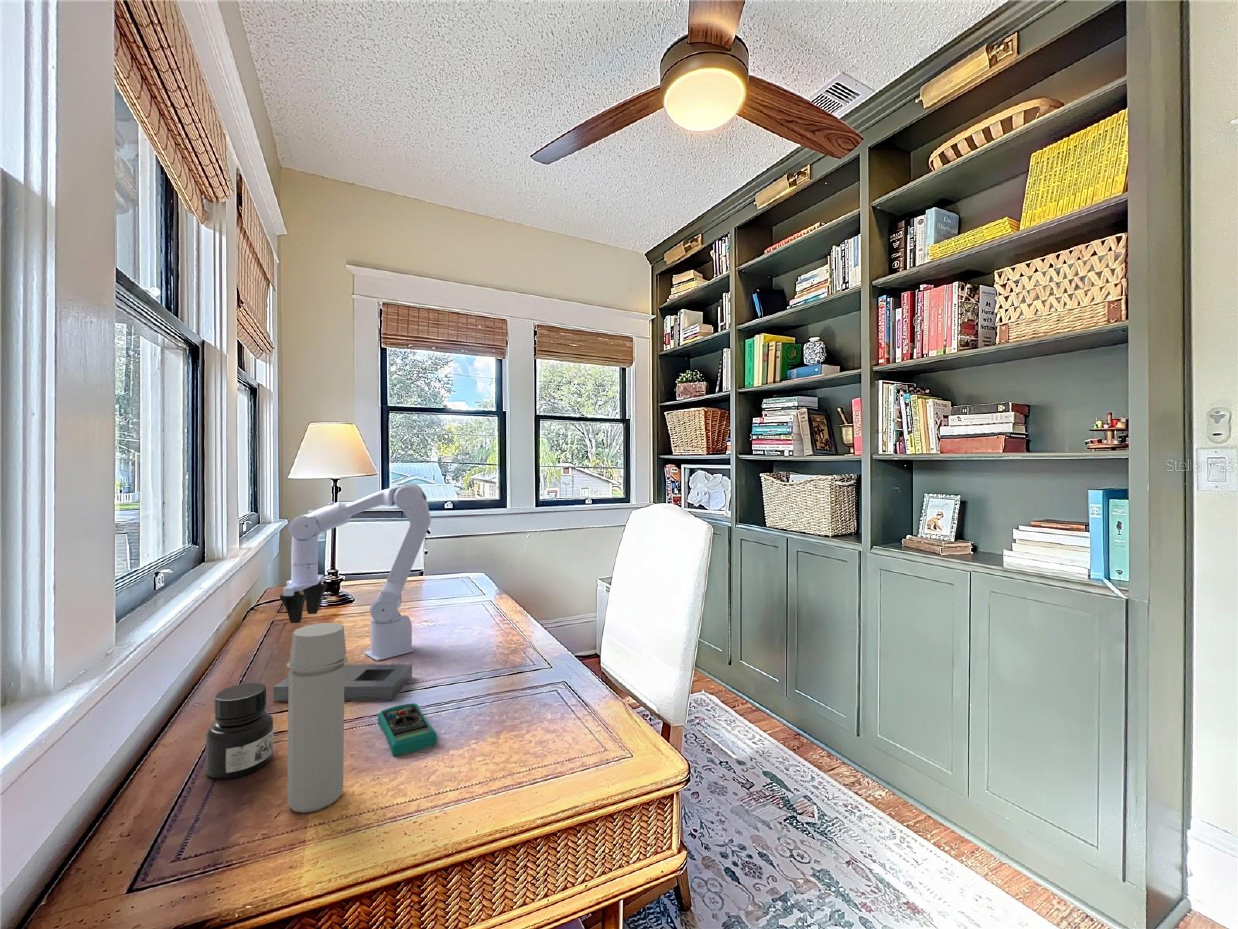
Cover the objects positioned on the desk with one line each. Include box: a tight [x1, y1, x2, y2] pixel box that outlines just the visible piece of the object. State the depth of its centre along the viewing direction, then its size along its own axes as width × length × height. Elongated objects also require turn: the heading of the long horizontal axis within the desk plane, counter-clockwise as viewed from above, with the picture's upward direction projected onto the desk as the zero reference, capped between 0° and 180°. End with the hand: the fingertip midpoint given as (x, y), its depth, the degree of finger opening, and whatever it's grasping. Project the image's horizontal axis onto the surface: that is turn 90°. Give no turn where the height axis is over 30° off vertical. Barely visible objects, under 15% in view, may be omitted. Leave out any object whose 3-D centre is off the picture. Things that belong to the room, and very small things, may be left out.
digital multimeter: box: [377, 702, 438, 757], centre depth 97 cm, size 7×15×3 cm, turn 34°
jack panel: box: [273, 663, 413, 702], centre depth 116 cm, size 24×12×3 cm, turn 92°
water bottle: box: [286, 622, 349, 814], centre depth 79 cm, size 9×8×25 cm
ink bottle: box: [205, 682, 274, 780], centre depth 87 cm, size 10×9×12 cm
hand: (304, 618), depth 132 cm, fingers open, 7 cm apart
